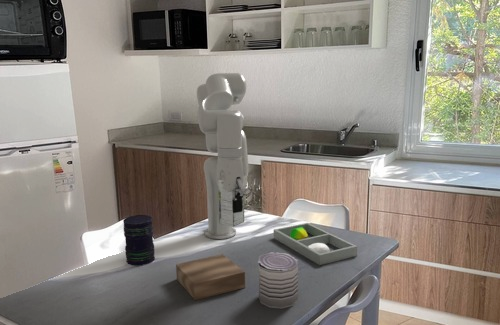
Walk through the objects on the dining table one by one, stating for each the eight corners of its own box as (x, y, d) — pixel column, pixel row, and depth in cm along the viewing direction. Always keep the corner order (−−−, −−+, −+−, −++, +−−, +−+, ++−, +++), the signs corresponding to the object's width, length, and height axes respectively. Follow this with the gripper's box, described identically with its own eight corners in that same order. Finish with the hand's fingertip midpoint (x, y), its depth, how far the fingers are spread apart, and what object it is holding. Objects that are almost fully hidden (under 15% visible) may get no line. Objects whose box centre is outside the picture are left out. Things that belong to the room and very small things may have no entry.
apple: (292, 221, 175) (309, 227, 168) (301, 229, 179) (318, 235, 172) (283, 238, 173) (300, 244, 166) (292, 245, 177) (309, 251, 170)
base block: (176, 279, 145) (176, 264, 144) (223, 268, 152) (222, 254, 151) (195, 300, 131) (194, 283, 130) (245, 287, 138) (244, 271, 137)
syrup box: (230, 219, 148) (229, 175, 145) (245, 222, 144) (244, 177, 142) (219, 224, 143) (217, 178, 141) (233, 227, 140) (232, 181, 137)
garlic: (310, 259, 159) (310, 249, 158) (303, 252, 165) (303, 242, 164) (331, 256, 160) (332, 246, 160) (324, 249, 167) (324, 239, 166)
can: (278, 286, 139) (278, 248, 136) (306, 299, 130) (306, 259, 128) (250, 298, 131) (249, 259, 129) (278, 313, 123) (277, 271, 121)
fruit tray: (273, 238, 179) (273, 229, 178) (307, 231, 186) (307, 222, 186) (319, 265, 153) (319, 255, 152) (357, 255, 160) (357, 246, 160)
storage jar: (122, 266, 156) (119, 223, 153) (130, 254, 165) (127, 215, 162) (151, 265, 155) (148, 223, 152) (158, 254, 165) (155, 214, 162)
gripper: (206, 150, 145) (209, 204, 149) (232, 158, 130) (233, 218, 134) (228, 148, 149) (229, 201, 152) (255, 155, 134) (256, 213, 137)
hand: (231, 208), depth 143 cm, fingers closed on syrup box, 7 cm apart
